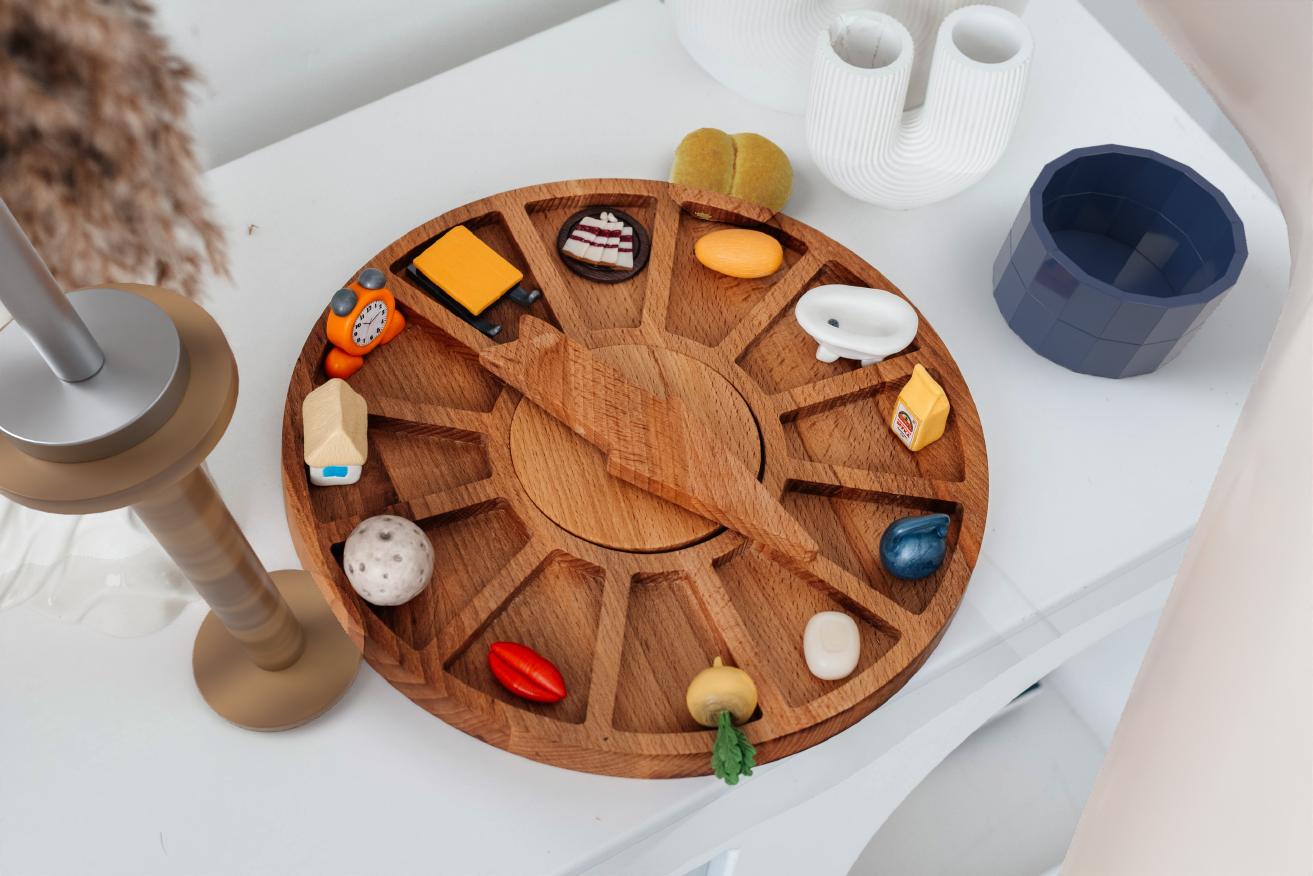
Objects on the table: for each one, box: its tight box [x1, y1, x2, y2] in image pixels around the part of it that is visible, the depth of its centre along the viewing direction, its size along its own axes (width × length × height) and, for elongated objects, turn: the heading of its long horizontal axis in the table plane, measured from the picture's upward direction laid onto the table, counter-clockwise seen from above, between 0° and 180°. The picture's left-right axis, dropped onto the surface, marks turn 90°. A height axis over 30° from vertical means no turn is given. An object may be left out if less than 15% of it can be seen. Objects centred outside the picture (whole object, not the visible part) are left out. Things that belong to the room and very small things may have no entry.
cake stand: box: [0, 282, 364, 733], centre depth 48 cm, size 9×9×26 cm
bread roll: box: [667, 127, 794, 219], centre depth 77 cm, size 8×9×4 cm
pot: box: [992, 143, 1249, 380], centre depth 72 cm, size 14×14×8 cm
